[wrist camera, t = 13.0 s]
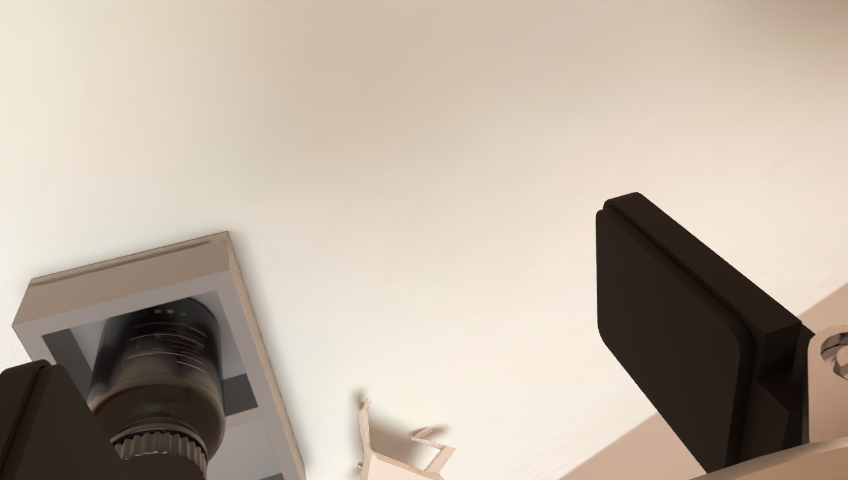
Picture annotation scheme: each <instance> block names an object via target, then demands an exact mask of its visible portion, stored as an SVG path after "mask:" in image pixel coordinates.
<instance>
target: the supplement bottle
mask: <svg viewBox="0 0 848 480" xmlns="http://www.w3.org/2000/svg"><path fill="white" fill-rule="evenodd" d="M87 405H88V406H89V408H90V409H91V411H92V413H93V414H94V416H95V417H96V419H97V421H98V422H99V424H100V425H101V427H102V429H103V430H104V432H105V433H106V435H107V437H108V438H109V440H110V441H111V443H112V445H113V446H114V448H115V449H116V451H117V453H118V454H119V456H120V457H121V459H122V461H123V462H124V464H125V466H126V467H127V469H128V471H129V473H130V476H131V480H207V466H208V462H209V461H210V460H211V459H212V458H213V456H214V455H215V454H216V452H217V451H218V449H219V447H220V445H221V443H222V441H223V438H224V434H225V427H226V416H225V398H224V382H223V365H222V349H221V337H220V332H219V328H218V325H217V323H216V321H215V319H214V318H213V317H212V315H211V314H210V313H209V312H208V311H207V310H206V309H205V308H204V307H203V306H201V305H200V304H198V303H196V302H195V301H192V300H190V299H188V298H183V299H179V300H175V301H171V302H167V303H164V304H160V305H156V306H152V307H148V308H144V309H141V310H137V311H133V312H129V313H125V314H121V315H118V316H114V317H110V318H109V320H108V321H107V322H106V324H105V326H104V328H103V331H102V333H101V337H100V341H99V345H98V350H97V354H96V359H95V364H94V369H93V374H92V379H91V383H90V388H89V393H88V398H87Z"/></svg>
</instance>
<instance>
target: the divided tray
mask: <svg viewBox="0 0 848 480" xmlns="http://www.w3.org/2000/svg"><path fill="white" fill-rule="evenodd" d="M183 298H188V299H190V300H192V301H195V302H196V303H198V304H200V305H201V306H203V307H204V308H205V309H206V310H207V311H208V312H209V313H210V314H211V315H212V317H213V318H214V319H215V321H216V323H217V325H218V328H219V332H220V337H221V349H222V365H223V382H224V398H225V416H226V427H225V434H224V438H223V441H222V443H221V445H220V447H219V449H218V451H217V452H216V454H215V455H214V456H213V458H212V459H211V460H210V461H209V462H208V466H207V480H306V475H305V469H304V464H303V461H302V458H301V455H300V452H299V449H298V446H297V443H296V440H295V437H294V434H293V431H292V427H291V424H290V421H289V418H288V415H287V412H286V409H285V406H284V403H283V400H282V397H281V394H280V391H279V388H278V385H277V382H276V379H275V376H274V373H273V370H272V366H271V363H270V360H269V357H268V354H267V351H266V348H265V345H264V342H263V339H262V336H261V333H260V330H259V327H258V324H257V321H256V318H255V315H254V312H253V309H252V305H251V302H250V299H249V296H248V293H247V290H246V287H245V284H244V281H243V278H242V275H241V272H240V269H239V266H238V263H237V260H236V257H235V254H234V251H233V248H232V244H231V241H230V238H229V235H228V232H227V231H226V232H222V233H218V234H214V235H210V236H206V237H202V238H198V239H193V240H189V241H185V242H181V243H177V244H173V245H169V246H165V247H161V248H157V249H153V250H149V251H145V252H141V253H136V254H132V255H128V256H124V257H120V258H116V259H112V260H108V261H104V262H100V263H96V264H92V265H88V266H83V267H79V268H75V269H71V270H67V271H63V272H59V273H55V274H51V275H47V276H43V277H39V278H35V279H31V281H30V283H29V286H28V288H27V290H26V293H25V295H24V297H23V300H22V302H21V304H20V307H19V309H18V312H17V314H16V316H15V319H14V321H13V323H12V328H13V329H14V331H15V333H16V334H17V336H18V338H19V340H20V341H21V343H22V345H23V346H24V348H25V350H26V352H27V353H28V355H29V357H30V358H31V360H32V362H33V361H36V360H40V359H44V360H47V361H48V362H50V363H51V365H55V364H60V365H62V366H63V367H64V368H65V369H66V371H67V372H68V374H69V376H70V377H71V379H72V380H73V382H74V384H75V385H76V387H77V388H78V390H79V392H80V393H81V395H82V397H83V398H84V400H85V401H86V403H87V398H88V393H89V388H90V383H91V379H92V374H93V369H94V364H95V359H96V354H97V350H98V345H99V341H100V337H101V333H102V331H103V328H104V326H105V324H106V322H107V321H108V320H109V318H110V317H114V316H118V315H121V314H125V313H129V312H133V311H137V310H141V309H144V308H148V307H152V306H156V305H160V304H164V303H167V302H171V301H175V300H179V299H183Z"/></svg>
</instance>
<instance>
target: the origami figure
mask: <svg viewBox="0 0 848 480" xmlns="http://www.w3.org/2000/svg"><path fill="white" fill-rule="evenodd" d="M370 403H371V402H370V401H369V400H366V401H365V402H364V404H363V407H362V409H361V410H360V411H359V412H358V417H359V425H360V432H361V437H362V442H363V447H364V459H363V467H362V466H360V465H359V464H358V465H357V467H358V468H359V469H361V470H362V471H361V475H360V479H359V480H444V479H443V478H442V477H441V476H440V474H439V471H440V470H441V469H442V467H443V466H444V465H445V463H446V462H447V461H448V459H449V458H450V457H451V455H452V454H453V453H454V451H455V450H456V449H455V448H452V447H449V446H446V445H442V444H438V443H435V442H431V441H427V440H423V439H421V438H423V437H425V436H426V435H428V434H429V433H431V432H432V431H433V430H431V429H429V428H425V429H423V430H422V431H420V432H419V433H418V434H416V435H415V436H413V437H412V438H411V440H414V441H417V442H420V443H423V444H426V445H429V446H432V447H435V448H438V449H441V450H440V452H439V453H438V454H437V455H436V457H435V458H434V459H433V460H432V461H431V463H430V464H429V465H428V466H427V467H426V469H425V470H424V471H423V470H421V469H418V468H416V467H413V466H410V465H408V464H405V463H403V462H400V461H397V460H395V459H392V458H389V457H387V456H384V455H382V454H379V453H376V452H374V451H372V450H371V449H370V437H369V425H368V412H367V410H368V408H369V405H370Z"/></svg>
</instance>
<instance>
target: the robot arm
mask: <svg viewBox="0 0 848 480" xmlns="http://www.w3.org/2000/svg"><path fill="white" fill-rule="evenodd" d="M596 264H597V322H598V329H599V333H600V336H601V338H602V340H603V342H604V343H605V345H606V346H607V347H608V348H609V350H610V351H611V352H612V354H613V355H614V356H615V357H616V359H617V360H618V361H619V362H620V364H621V365H622V366H623V367H624V369H625V370H626V371H627V373H628V374H629V375H630V376H631V378H632V379H633V380H634V381H635V383H636V384H637V385H638V386H639V388H640V389H641V390H642V392H643V393H644V394H645V395H646V397H647V398H648V399H649V400H650V402H651V403H652V404H653V406H654V407H655V408H656V409H657V411H658V412H659V413H660V414H661V415H662V417H663V418H664V419H665V421H666V422H667V423H668V425H669V426H670V427H671V428H672V430H673V431H674V432H675V433H676V434H677V436H678V437H679V438H680V440H681V441H682V442H683V443H684V445H685V446H686V447H687V449H688V450H689V451H690V452H691V454H692V455H693V456H694V457H695V459H696V460H697V461H698V463H700V465H701V466H702V468H703V469H704V470H705V471H706V473H707V474H705V475H702V476H699V477H697V478H693V479H690V480H848V325H841V326H834V327H829V328H827V329H824V330H822V331H819V332H818V333H817V334H815V333H813V332H812V331H811V330H810V329H808V328H807V327H806V326H804V325H803V324H802V321H801V320H799V319H798V318H797V317H796V316H794V315H793V314H792V313H791V312H789V311H788V310H787V309H786V308H784V307H783V306H782V305H781V304H779V303H778V302H777V301H775V300H774V299H773V298H772V297H770V296H769V295H768V294H767V293H765V292H764V291H763V290H762V289H760V288H759V287H758V286H757V285H755V284H754V283H753V282H752V281H750V280H749V279H748V278H747V277H745V276H744V275H743V274H741V273H740V272H739V271H738V270H736V269H735V268H734V267H733V266H731V265H730V264H729V263H728V262H726V261H725V260H724V259H723V258H721V257H720V256H719V255H718V254H716V253H715V252H714V251H712V250H711V249H710V248H709V247H707V246H706V245H705V244H704V243H702V242H701V241H700V240H699V239H697V238H696V237H695V236H694V235H692V234H691V233H690V232H689V231H687V230H686V229H685V228H684V227H682V226H681V225H680V224H678V223H677V222H676V221H675V220H673V219H672V218H671V217H670V216H668V215H667V214H666V213H665V212H663V211H662V210H661V209H660V208H658V207H657V206H656V205H655V204H653V203H652V202H651V201H649V200H648V199H647V198H646V197H644V196H643V195H642V194H640V193H638V192H633V193H630V194H626V195H623V196H619V197H616V198H612V199H608V200H607V201H605V203H604V206H603V209H602V210H599V211H598V212H597V214H596ZM0 480H131V476H130V473H129V471H128V469H127V467H126V466H125V464H124V462H123V461H122V459H121V457H120V456H119V454H118V453H117V451H116V449H115V448H114V446H113V445H112V443H111V441H110V440H109V438H108V437H107V435H106V433H105V432H104V430H103V429H102V427H101V425H100V424H99V422H98V421H97V419H96V417H95V416H94V414H93V413H92V411H91V409H90V408H89V406H88V405H87V403H86V401H85V400H84V398H83V397H82V395H81V393H80V392H79V390H78V388H77V387H76V385H75V384H74V382H73V380H72V379H71V377H70V376H69V374H68V372H67V371H66V369H65V368H64V367H63V366H62V365H60V364H55V365H51V363H50V362H48V361H47V360H44V359H40V360H36V361H33V362H29V363H26V364H22V365H19V366H15V367H12V368H8V369H6V370H4V371H2V373H1V374H0Z"/></svg>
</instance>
